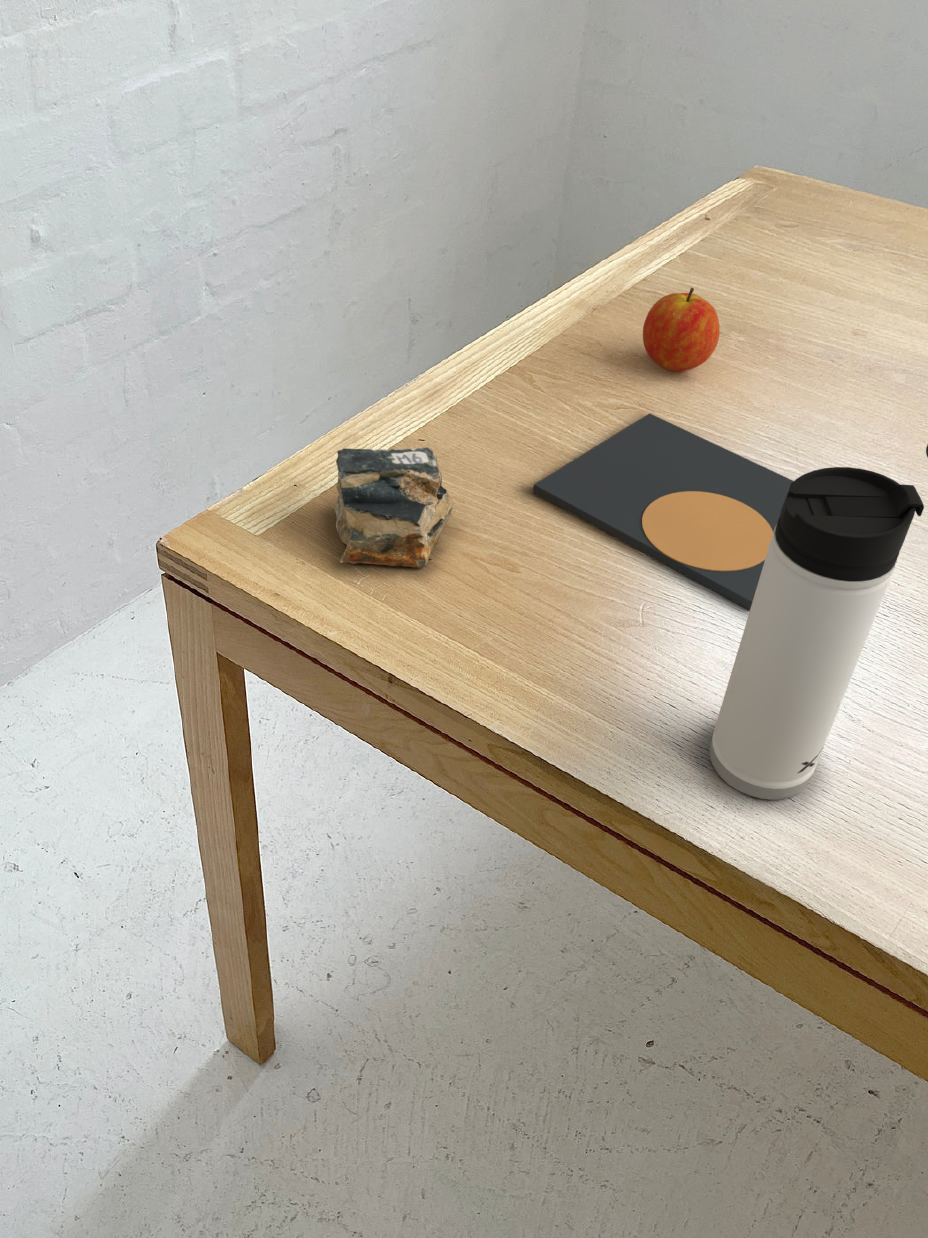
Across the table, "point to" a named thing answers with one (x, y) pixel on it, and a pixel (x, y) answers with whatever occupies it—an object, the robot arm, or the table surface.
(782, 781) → the travel mug
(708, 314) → the fruit
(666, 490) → the mat
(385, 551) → the rock
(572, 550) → the table surface
